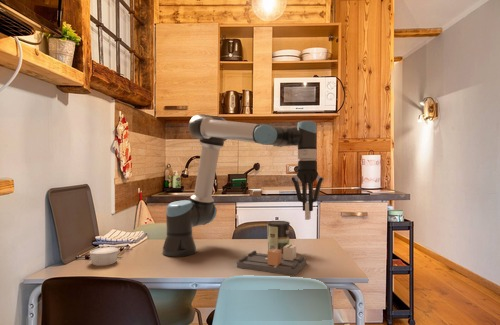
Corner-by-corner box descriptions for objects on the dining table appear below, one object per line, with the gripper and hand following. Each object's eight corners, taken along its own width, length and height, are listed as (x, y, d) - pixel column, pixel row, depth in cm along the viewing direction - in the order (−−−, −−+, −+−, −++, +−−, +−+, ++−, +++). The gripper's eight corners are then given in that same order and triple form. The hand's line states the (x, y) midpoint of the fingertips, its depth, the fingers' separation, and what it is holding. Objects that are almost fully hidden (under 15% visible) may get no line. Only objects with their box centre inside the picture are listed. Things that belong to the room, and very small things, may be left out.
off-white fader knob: (283, 259, 139) (283, 246, 139) (286, 256, 143) (287, 244, 143) (292, 260, 137) (292, 247, 137) (296, 257, 142) (296, 245, 142)
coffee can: (290, 250, 162) (290, 220, 162) (288, 256, 151) (288, 224, 151) (268, 249, 164) (268, 220, 164) (265, 255, 154) (265, 223, 153)
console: (236, 267, 136) (236, 259, 136) (253, 256, 151) (253, 250, 151) (294, 275, 126) (294, 267, 126) (306, 263, 141) (306, 256, 141)
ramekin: (90, 260, 145) (90, 248, 145) (118, 258, 149) (118, 245, 149) (88, 268, 135) (88, 254, 135) (118, 265, 139) (118, 252, 139)
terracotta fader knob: (267, 264, 132) (267, 251, 132) (272, 261, 136) (272, 248, 136) (277, 265, 130) (277, 252, 130) (281, 262, 135) (281, 249, 135)
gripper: (288, 160, 136) (289, 219, 136) (321, 159, 131) (322, 221, 130) (294, 160, 143) (294, 216, 143) (325, 159, 137) (326, 218, 137)
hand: (307, 219), depth 137 cm, fingers closed
